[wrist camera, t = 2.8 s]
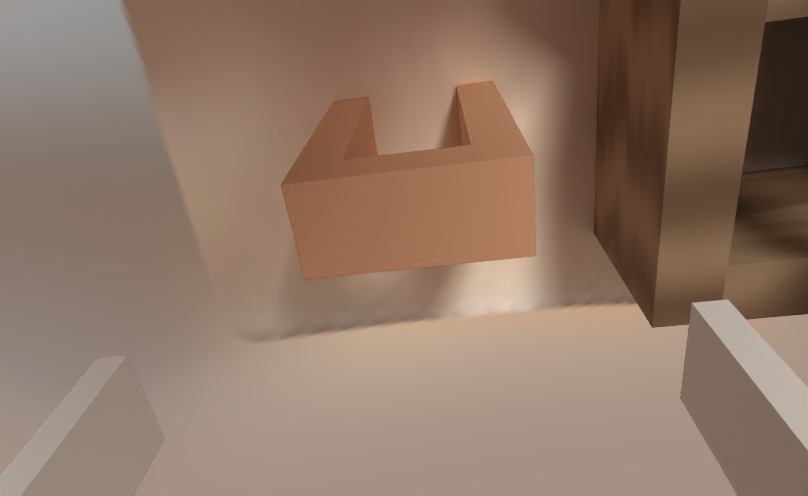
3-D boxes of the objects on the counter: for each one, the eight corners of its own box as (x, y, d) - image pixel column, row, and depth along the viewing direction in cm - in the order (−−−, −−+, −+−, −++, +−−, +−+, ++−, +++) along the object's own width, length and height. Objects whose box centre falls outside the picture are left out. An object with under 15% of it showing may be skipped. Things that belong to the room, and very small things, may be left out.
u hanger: (333, 101, 31) (280, 184, 20) (492, 81, 31) (533, 155, 19) (346, 168, 33) (304, 279, 22) (496, 150, 32) (536, 255, 21)
